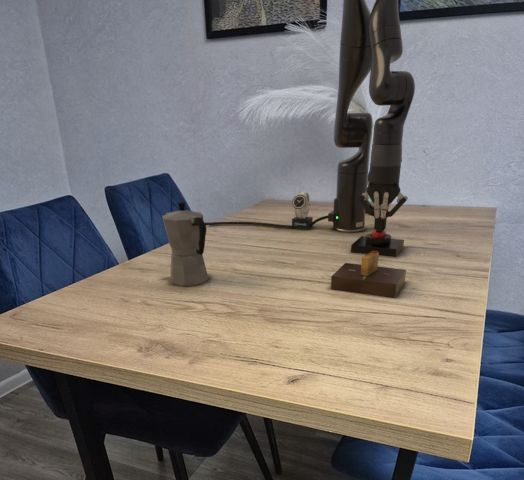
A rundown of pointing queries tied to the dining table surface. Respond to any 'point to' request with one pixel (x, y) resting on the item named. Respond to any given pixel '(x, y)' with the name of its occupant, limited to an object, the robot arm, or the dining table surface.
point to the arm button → (378, 234)
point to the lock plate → (368, 280)
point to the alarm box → (377, 245)
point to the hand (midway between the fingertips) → (379, 231)
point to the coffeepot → (186, 246)
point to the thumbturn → (369, 263)
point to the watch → (301, 211)
